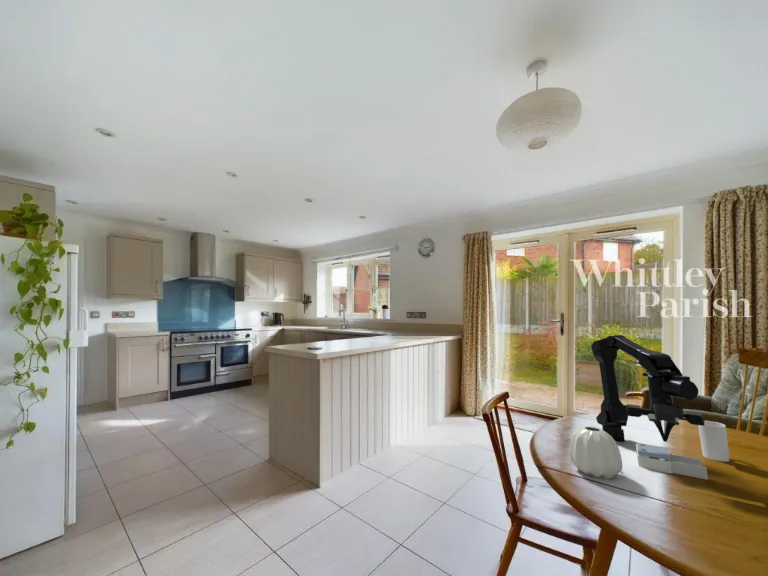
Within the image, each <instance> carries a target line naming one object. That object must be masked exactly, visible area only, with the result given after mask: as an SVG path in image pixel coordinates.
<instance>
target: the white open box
mask: <svg viewBox="0 0 768 576" xmlns="http://www.w3.org/2000/svg"><path fill="white" fill-rule="evenodd" d="M635 447H636V448H635V450H636V456H637V464H638V468H643V469H647V470H652V471H657V472H662V473H667V474H670V475H671V474H678V475H681V476H687V477H693V478H698V479H703V480H709V477H708V468H707V467H706V466H703V462H702V461H703V460H702V458H699V457H694V456H688V455H682V454H676V453H671V452H669V453H670V455H671V461H670V460H665V459H654V458H649V456H644V455H638V448H637V443H635Z"/></svg>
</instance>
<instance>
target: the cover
mask: <svg viewBox="0 0 768 576" xmlns="http://www.w3.org/2000/svg"><path fill="white" fill-rule="evenodd" d="M636 444H637V448H638V455H644V456H649V457H654V458H660V459H665V460H670V461H671V455H670V453H671V452H670V450H669V448H668V447H665V446H659V445H655V444H654V445H652V444H648V443H647V444H646V443H640V442H636Z"/></svg>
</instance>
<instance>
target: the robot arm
mask: <svg viewBox="0 0 768 576" xmlns="http://www.w3.org/2000/svg"><path fill="white" fill-rule="evenodd" d="M619 350H620V351H622V352H624V353H626V354H628V355H629V356H631V357H633V358H634V359H636V360H637V363H638V365H640V366H641V367H642V368H644V369H645V370H646V371H644V372H643V373H642V374H641V375H642V377H646V378H647V383H648V395H649V396H648V397H649V407H650V409H648V408H647V409H646V408H642V407H641V405H639V404H638V405H637V404H629V403H627V404H624V403H623V402H622V401H621V400H620V395H619V388H618V382H617V381H618V380H617V375H616V368H615V362H616V359H617V358H618V352H619ZM591 351H592V354H593V358H595V359H596V361H597V362H598V364H599V370H600V377H601V386H602V392H603V393H602V394H603V398H604V399H603V400H602V403H601V404H600V412H599V413H598V414H597V416H596V418H595V419H596V422H597V424H598V425H601V426H602V427H601V429H602V430H603V431H605V432H607V433H608V434H609V435H610V436H612V437H613V439H614V440H615V442H616V443H617V442H623V443H625V441H626V439H625V430H624V429H623V428H622V427H627V426H628V425H627V424H628V420H629V417H635V418H641V416H642V415H644V416H647V418H648V420H649V422H653V424H654V425H655V427H656V428H657V429H658V432H659V435H660V437H661V438H662V441H663V442H664V443H667V442H668V439H669V436H670V435H671V432H672V429H673V428H674V426H676V425H677V426H679V425H680V422H679V420H682V421H687V423H688V424H690V425H695V426H698V425H701V426H705V424H704V421H705V419H704V416H702V414H700V412H698V411H690V410H684V407H683V406H682V405H674V403H673V401H674V400H673V397H675V398H678V399H679V398H680V399H683V400H687V401H692V400H695V399H696V398H697V397H698V396H699V388H698V386H697V385H696V383H694V381H691V377H690V376H686V375H684V376H683V373H682V372H681V370H680V369H679V368H678V366H677V365H676V364H675V362H674V360H673V359H672V357H671V355H669V354H667V353H664V352H660V351H657V350H651V349H648V348H646V347H644V346H642V345H640V344H638V343H636V342H634V341H633V340H631V339H628V338H627V337H626V336H625V335H623V334H612V335H608V336H607V337H604V338H602V339H598V340H595V341H593V343H592V344H591ZM662 421H664V424H662ZM663 425H664V426H663ZM663 427H664V429H663Z"/></svg>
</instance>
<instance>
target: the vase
mask: <svg viewBox="0 0 768 576" xmlns="http://www.w3.org/2000/svg"><path fill="white" fill-rule="evenodd" d="M569 441H570V442H569V458H570V461H571V462H572V463H573V465H574V466H575V467H576V468H577V470H578V471H580V472H582V473H584V474H585V475H588V476H592V477H595V478H601V479H610V478H615V477H616V476H618V475H619V474H620V472H622V471H623V459H622V454H621V452H620V448H619V446H618V443H617V441H615V440H614V439H613V437H612V436H610V435H609V434H608V433H607V432H605V431H603V429H602V428H600V427H595V426H586V425H585V426H583V427H580V428H578V429H576V430H575V431H574V432H573V434H572V435H571V437H570V440H569Z"/></svg>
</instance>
